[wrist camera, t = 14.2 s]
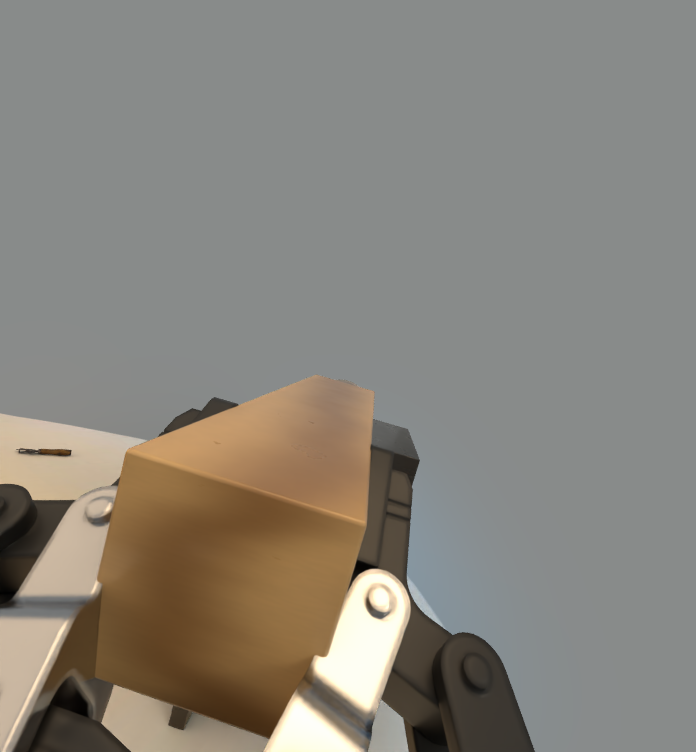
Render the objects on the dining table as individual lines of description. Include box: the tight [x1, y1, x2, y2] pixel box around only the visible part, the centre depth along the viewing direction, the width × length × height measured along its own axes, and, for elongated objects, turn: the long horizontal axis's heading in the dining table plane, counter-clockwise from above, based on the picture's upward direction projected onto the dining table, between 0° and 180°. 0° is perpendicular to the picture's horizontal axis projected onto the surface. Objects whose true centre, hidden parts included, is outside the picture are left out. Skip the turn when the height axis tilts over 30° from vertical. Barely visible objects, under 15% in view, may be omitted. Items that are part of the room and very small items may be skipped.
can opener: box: [16, 448, 71, 455], centre depth 74 cm, size 9×2×1 cm, turn 116°
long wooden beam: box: [95, 375, 374, 739], centre depth 17 cm, size 4×22×4 cm, turn 175°
